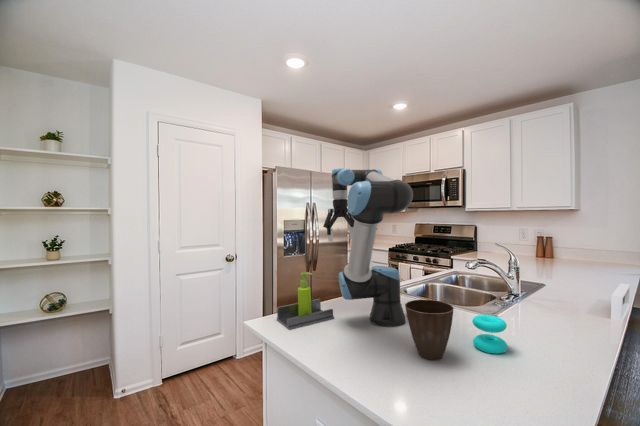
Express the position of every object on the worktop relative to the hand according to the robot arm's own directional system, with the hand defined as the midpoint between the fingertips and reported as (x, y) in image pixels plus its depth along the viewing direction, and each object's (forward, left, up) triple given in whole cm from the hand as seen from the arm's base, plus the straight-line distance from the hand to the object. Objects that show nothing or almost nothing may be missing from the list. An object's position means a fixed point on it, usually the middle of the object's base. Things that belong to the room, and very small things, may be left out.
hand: (341, 240), depth 151 cm
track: (-6, +25, -33) cm, 42 cm away
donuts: (-67, -14, -34) cm, 76 cm away
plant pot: (-59, +6, -34) cm, 68 cm away
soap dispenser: (-6, +25, -33) cm, 41 cm away
